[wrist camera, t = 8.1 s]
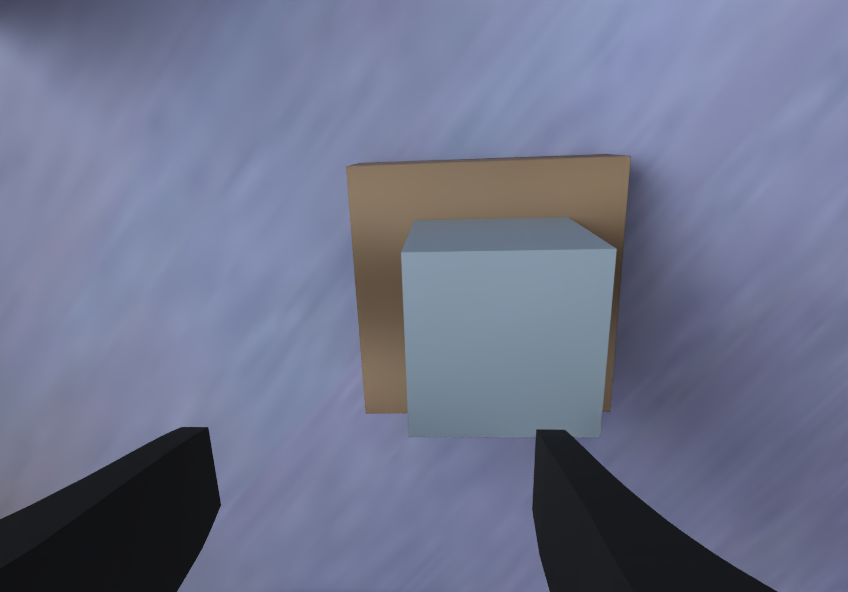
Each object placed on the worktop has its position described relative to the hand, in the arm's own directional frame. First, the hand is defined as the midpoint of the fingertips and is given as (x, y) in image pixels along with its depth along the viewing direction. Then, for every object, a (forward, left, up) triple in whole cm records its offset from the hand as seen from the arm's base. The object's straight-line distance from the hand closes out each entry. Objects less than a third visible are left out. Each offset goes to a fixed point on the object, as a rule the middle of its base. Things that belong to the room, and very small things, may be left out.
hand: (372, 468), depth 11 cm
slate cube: (+2, -3, -7) cm, 8 cm away
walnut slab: (+2, -3, -10) cm, 11 cm away
